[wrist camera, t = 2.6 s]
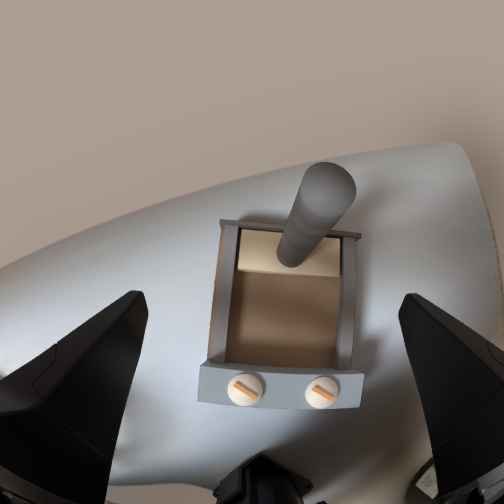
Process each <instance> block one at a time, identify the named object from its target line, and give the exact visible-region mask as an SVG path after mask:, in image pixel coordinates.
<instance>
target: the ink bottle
mask: <svg viewBox="0 0 504 504" xmlns="http://www.w3.org/2000/svg"><path fill="white" fill-rule="evenodd" d="M476 486H477V483H476V480H475V481H473V482H471V483H469V484H467V485H465V486H463V487H461V488H459V489H457V490H455V491H453V492H451V493H449V494H447V495H444V496H442V497H440V498H439V496H438V488H437V480H436V472H435V466H434V459H432V460H431V461H430V462H429V463H428V464H426V465H425V466H424V467H423V468H422V469H421V471H420V472H419V473H418V474H417V475H416V477H415V478H414V480H413V481H412V483H411V485H410V487H409V489H408V491H407V494H406V498H405V504H458V502H459V500H460V498H461V495H463V494H464V493H466V492H468V491H469V490H471V489H473V488H474V487H476Z"/></svg>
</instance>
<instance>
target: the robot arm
mask: <svg viewBox="0 0 504 504" xmlns="http://www.w3.org/2000/svg"><path fill="white" fill-rule="evenodd" d="M398 317H399V321H400V325H401V329H402V334H403V338H404V342H405V347H406V351H407V354H408V358H409V361H410V364H411V367H412V370H413V374H414V377H415V381H416V384H417V388H418V391H419V395H420V399H421V402H422V406H423V410H424V414H425V419H426V423H427V428H428V432H429V437H430V442H431V447H432V453H433V459H434V466H435V472H436V480H437V488H438V496H439V498H440V497H442V496H444V495H447V494H449V493H451V492H453V491H455V490H457V489H459V488H461V487H463V486H465V485H467V484H469V483H471V482H473V481H475V480H476V483H477V486H476V487H474V488H473V489H471V490H469V491H468V492H466V493H464V494H463V495H461V498H460V500H459V502H458V504H504V351H502V350H501V349H499V348H498V347H496V346H495V345H494V344H492V343H491V342H489V341H488V340H486V339H485V338H484V337H482V336H481V335H479V334H478V333H476V332H475V331H474V330H472V329H471V328H469V327H468V326H466V325H465V324H463V323H462V322H460V321H459V320H457V319H456V318H454V317H453V316H451V315H450V314H448V313H447V312H445V311H444V310H442V309H441V308H439V307H438V306H436V305H434V304H433V303H431V302H430V301H428V300H427V299H425V298H423V297H422V296H420V295H419V294H417V293H409V294H406V296H405V297H404V300H403V302H402V305H401V307H400V310H399V313H398ZM147 320H148V308H147V304H146V300H145V296H144V293H143V292H142V291H135V290H131V291H129V292H128V293H126V294H125V295H123V296H122V297H120V298H119V299H118V300H116V301H115V302H113V303H112V304H110V305H109V306H107V307H106V308H104V309H103V310H102V311H100V312H99V313H97V314H96V315H94V316H93V317H92V318H90V319H89V320H87V321H86V322H85V323H83V324H82V325H80V326H79V327H77V328H76V329H75V330H73V331H72V332H70V333H69V334H68V335H66V336H65V337H64V338H62V339H61V340H59V341H58V342H57V344H56V343H55V344H54V345H53V346H51V347H50V348H49V349H47V350H46V351H44V352H43V353H41V354H40V355H39V356H37V357H36V358H34V359H33V360H31V361H30V362H28V363H27V364H25V365H23V366H22V367H20V368H19V369H17V370H15V371H14V372H12V373H11V374H9V375H8V376H6V377H4V378H3V379H1V380H0V504H105V498H106V492H107V486H108V481H109V476H110V470H111V465H112V460H113V455H114V451H115V446H116V442H117V437H118V433H119V429H120V425H121V421H122V417H123V413H124V409H125V406H126V402H127V398H128V395H129V391H130V388H131V384H132V381H133V377H134V374H135V371H136V367H137V364H138V361H139V357H140V354H141V349H142V344H143V339H144V334H145V329H146V324H147ZM259 458H262V460H261V461H258V460H257V459H259ZM306 485H309V486H308V487H305V486H306ZM312 488H313V483H312V482H311V481H309V480H307V479H305V478H303V477H301V476H300V475H298V474H296V473H294V472H292V471H290V470H289V469H287V468H285V467H283V466H281V465H280V464H278V463H276V462H275V461H273V460H271V459H270V458H268V457H266V456H265V455H263V454H257V455H255V456H254V457H253V458H252V459H251V460H250V461H249V462H247V463H246V464H245V465H244V466H243V467H238V468H236V469H235V470H234V471H233V472H232V473H230V474H229V475H228V476H227V477H226V478H224V479H223V480H222V481H221V482H220V486H218V487H217V488H216V489H214V491H213V496H214V497H216V498H217V503H216V504H304V502H303V499H302V497H303V496H304V495H305V494H306V493H308V492H309V491H310V490H311V489H312ZM217 493H218V494H217ZM317 504H327V503H326V502H325V501H321V502H317Z"/></svg>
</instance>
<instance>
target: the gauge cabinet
mask: <svg viewBox="0 0 504 504" xmlns="http://www.w3.org/2000/svg"><path fill="white" fill-rule="evenodd" d="M363 380H364V373H361V372H359V371H356V370H354V369H351V368H350V370H336V369H334V368H297V367H275V366H260V365H248V364H237V363H228V362H225V364H215V363H210V360H206V361H205V362H204V363H203V364H202V365H200V373H199V386H198V400H197V401H200V402H207V403H214V404H222V405H231V406H241V407H253V408H268V409H338V408H354V407H360V401H361V394H362V387H363Z"/></svg>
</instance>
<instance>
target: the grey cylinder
mask: <svg viewBox="0 0 504 504" xmlns="http://www.w3.org/2000/svg"><path fill="white" fill-rule="evenodd" d="M355 197H356V185H355V182H354V180H353V178H352V177H351V175H350V174H349V173H348V172H347V171H346V170H345V169H344V168H342V167H341V166H339V165H337V164H334V163H330V162H320V163H316V164H314V165H312V166H310V167H309V168H308V169H307V170H306V172H305V174H304V177H303V179H302V182H301V185H300V188H299V190H298V193H297V196H296V199H295V201H294V204H293V207H292V210H291V212H290V215H289V218H288V221H287V223H286V226H285V229H284V231H283V233H278V232H267V231H256V230H245V229H242V233H241V242H240V252H239V261H238V271H244V272H255V273H266V274H277V275H289V276H301V277H314V278H326V279H337V278H339V276H340V239H336V238H327V237H325V236H326V235H327V233H328V232H329V231H330V230H331V229H332V227H333V226H334V225H335V224H336V223H337V221H338V220H339V219H340V218H341V217H342V215H343V214H344V213H345V212H346V210H347V209H348V208H349V207H350V205H351V204H352V203H353V201H354V199H355Z"/></svg>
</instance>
